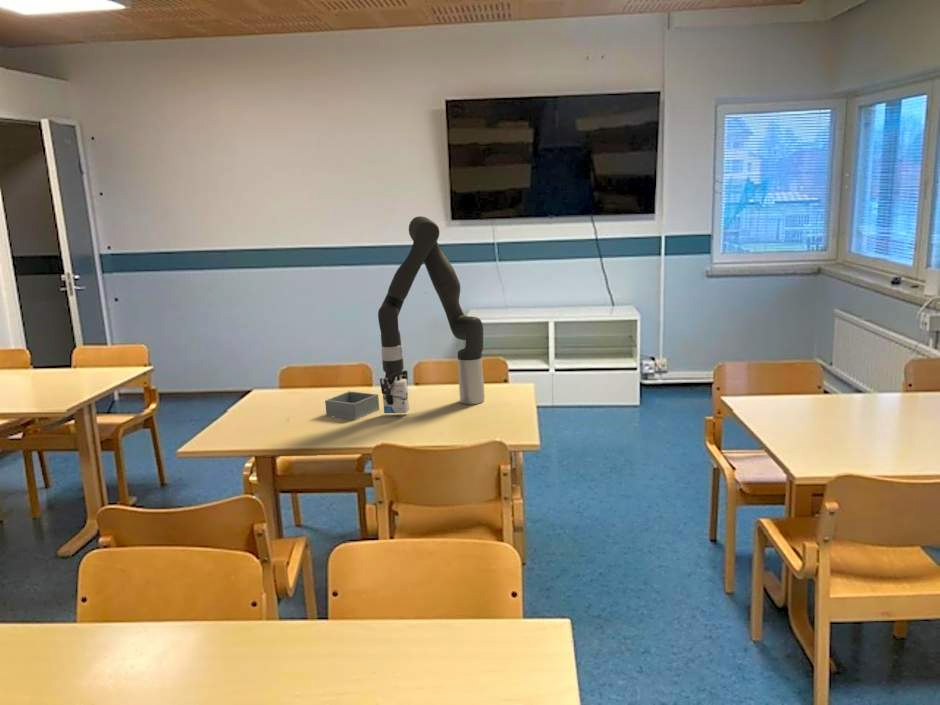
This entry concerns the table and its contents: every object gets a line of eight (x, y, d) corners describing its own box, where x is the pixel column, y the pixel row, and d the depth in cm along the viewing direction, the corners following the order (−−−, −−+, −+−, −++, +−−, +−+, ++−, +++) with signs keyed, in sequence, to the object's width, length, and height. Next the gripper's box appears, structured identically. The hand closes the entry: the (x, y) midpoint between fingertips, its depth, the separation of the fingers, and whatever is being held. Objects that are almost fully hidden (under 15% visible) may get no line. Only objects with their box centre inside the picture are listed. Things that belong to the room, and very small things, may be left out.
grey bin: (350, 406, 285) (349, 391, 283) (379, 409, 278) (378, 394, 276) (326, 416, 273) (325, 400, 272) (356, 420, 266) (354, 404, 265)
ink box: (383, 413, 267) (380, 382, 265) (386, 409, 272) (384, 379, 269) (406, 413, 266) (404, 382, 263) (409, 409, 271) (407, 378, 268)
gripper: (388, 362, 257) (392, 408, 260) (412, 353, 269) (415, 397, 272) (371, 361, 261) (375, 406, 264) (395, 352, 273) (399, 395, 276)
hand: (396, 401), depth 268 cm, fingers closed on ink box, 6 cm apart
